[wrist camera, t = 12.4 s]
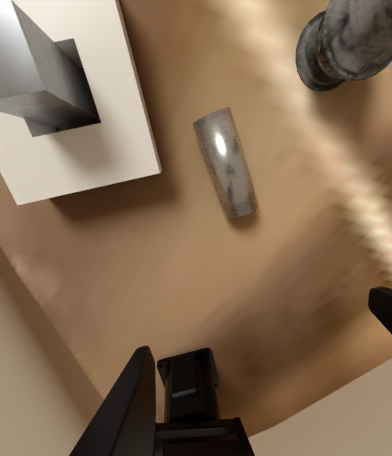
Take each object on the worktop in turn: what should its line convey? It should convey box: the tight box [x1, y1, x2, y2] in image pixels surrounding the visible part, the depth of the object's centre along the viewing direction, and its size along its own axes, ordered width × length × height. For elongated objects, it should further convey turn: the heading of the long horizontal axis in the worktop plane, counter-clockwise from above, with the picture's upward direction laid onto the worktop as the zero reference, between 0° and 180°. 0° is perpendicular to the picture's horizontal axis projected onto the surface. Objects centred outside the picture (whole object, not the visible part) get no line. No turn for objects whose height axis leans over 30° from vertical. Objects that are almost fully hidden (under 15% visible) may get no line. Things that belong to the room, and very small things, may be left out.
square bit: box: [0, 0, 101, 130], centre depth 12 cm, size 3×3×8 cm
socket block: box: [0, 0, 162, 205], centre depth 14 cm, size 12×10×4 cm
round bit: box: [193, 107, 259, 218], centre depth 17 cm, size 8×3×3 cm
